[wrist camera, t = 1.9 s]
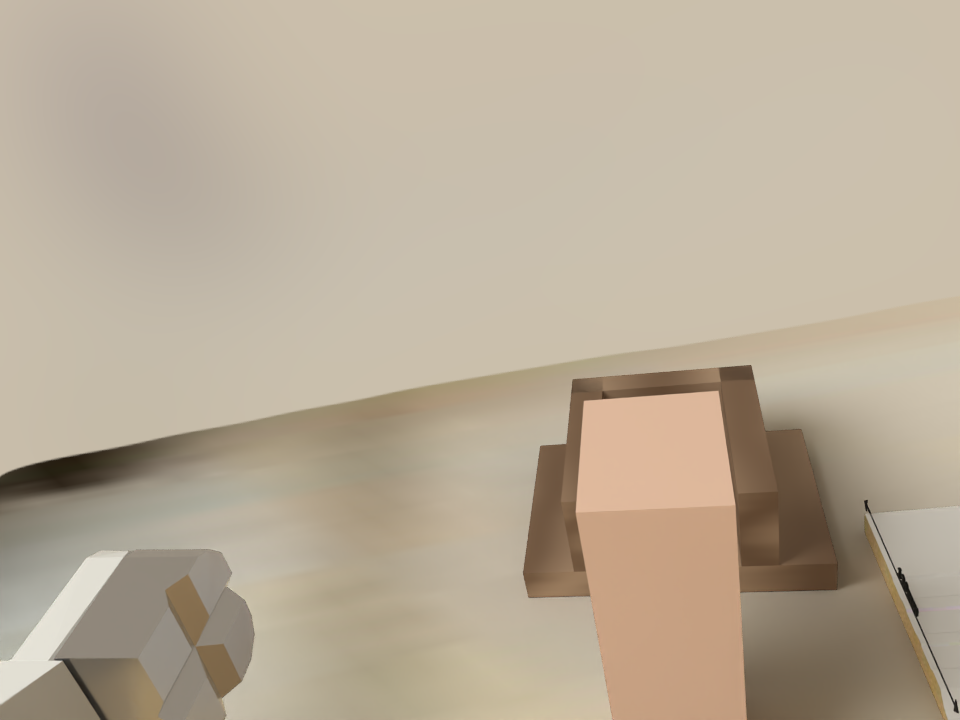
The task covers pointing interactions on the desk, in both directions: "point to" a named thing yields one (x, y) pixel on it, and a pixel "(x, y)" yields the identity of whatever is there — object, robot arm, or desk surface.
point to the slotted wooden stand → (755, 478)
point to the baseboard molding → (925, 589)
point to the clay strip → (662, 556)
